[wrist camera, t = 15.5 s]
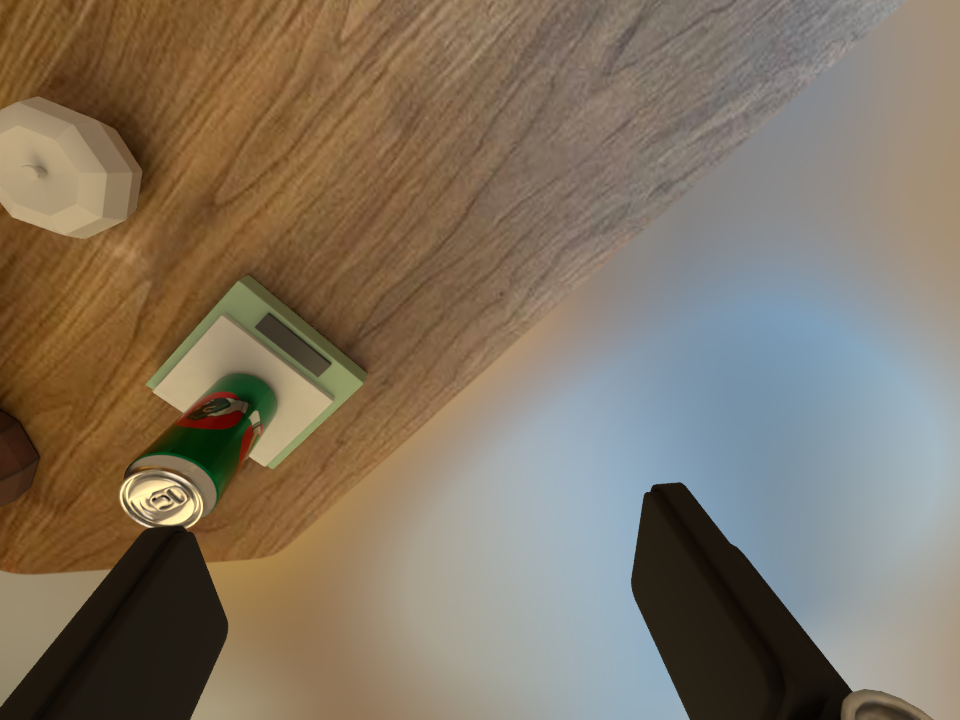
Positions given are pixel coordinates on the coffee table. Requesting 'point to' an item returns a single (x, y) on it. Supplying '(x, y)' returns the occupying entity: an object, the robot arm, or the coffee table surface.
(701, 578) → the robot arm
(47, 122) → the white apple
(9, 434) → the mug
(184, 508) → the soda can
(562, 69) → the coffee table surface
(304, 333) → the scale
